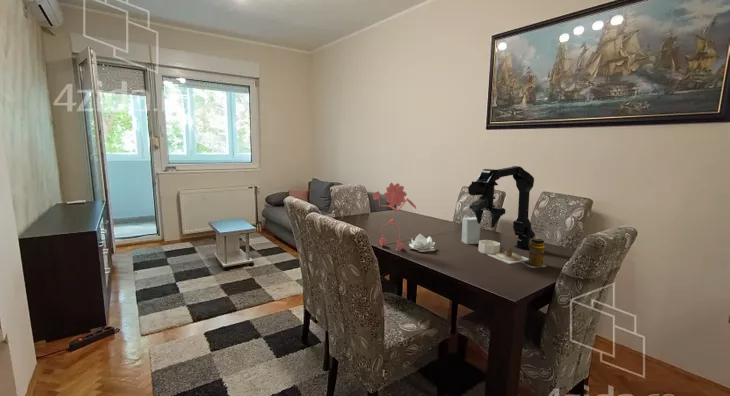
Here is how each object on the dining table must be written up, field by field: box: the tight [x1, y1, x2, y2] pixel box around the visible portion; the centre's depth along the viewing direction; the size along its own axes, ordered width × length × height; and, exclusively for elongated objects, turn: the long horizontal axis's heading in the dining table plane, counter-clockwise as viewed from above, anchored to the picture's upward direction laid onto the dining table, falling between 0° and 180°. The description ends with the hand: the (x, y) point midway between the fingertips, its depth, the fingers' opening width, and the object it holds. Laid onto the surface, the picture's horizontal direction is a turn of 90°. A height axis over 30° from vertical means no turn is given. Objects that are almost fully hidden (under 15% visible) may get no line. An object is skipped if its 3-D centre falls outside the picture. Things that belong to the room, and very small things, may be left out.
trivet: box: [486, 254, 529, 265], centre depth 164 cm, size 14×14×1 cm
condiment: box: [520, 237, 547, 269], centre depth 154 cm, size 7×8×12 cm
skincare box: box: [461, 216, 481, 245], centre depth 187 cm, size 8×6×15 cm
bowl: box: [478, 239, 501, 255], centre depth 173 cm, size 10×10×5 cm
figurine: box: [372, 182, 417, 252], centre depth 175 cm, size 15×26×35 cm, turn 57°
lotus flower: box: [408, 233, 436, 252], centre depth 174 cm, size 14×15×9 cm
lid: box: [496, 246, 522, 261], centre depth 164 cm, size 12×12×4 cm
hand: (485, 225), depth 167 cm, fingers open, 9 cm apart
